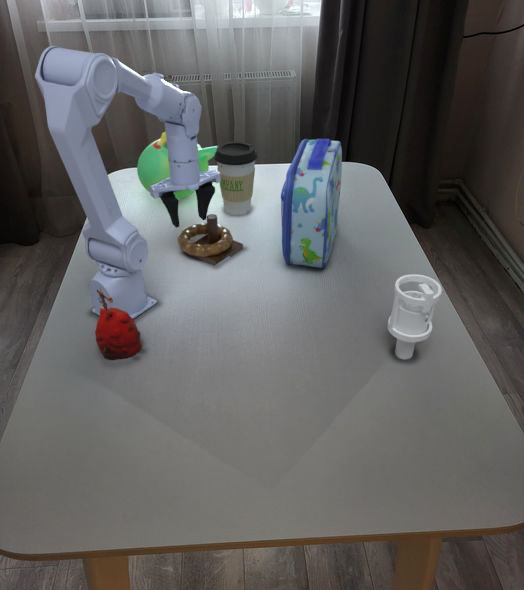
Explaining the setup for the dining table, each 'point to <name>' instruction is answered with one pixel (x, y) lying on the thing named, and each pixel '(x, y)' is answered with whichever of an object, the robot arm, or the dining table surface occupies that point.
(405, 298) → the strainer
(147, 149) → the toy bird
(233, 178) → the coffee cup
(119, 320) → the red rounded lump
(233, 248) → the post
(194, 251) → the ring
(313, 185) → the lunch box
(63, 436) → the dining table surface
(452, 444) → the dining table surface
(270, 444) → the dining table surface
